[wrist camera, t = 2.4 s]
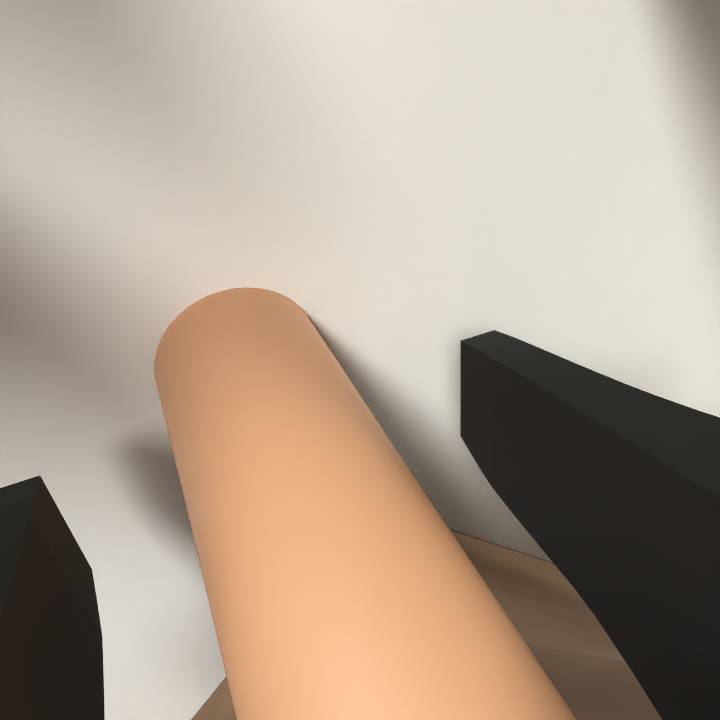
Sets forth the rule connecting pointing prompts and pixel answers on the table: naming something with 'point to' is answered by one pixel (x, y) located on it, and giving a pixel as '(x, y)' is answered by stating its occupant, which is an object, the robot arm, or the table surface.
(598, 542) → the robot arm
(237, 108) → the table surface
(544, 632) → the hole block
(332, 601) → the peg
